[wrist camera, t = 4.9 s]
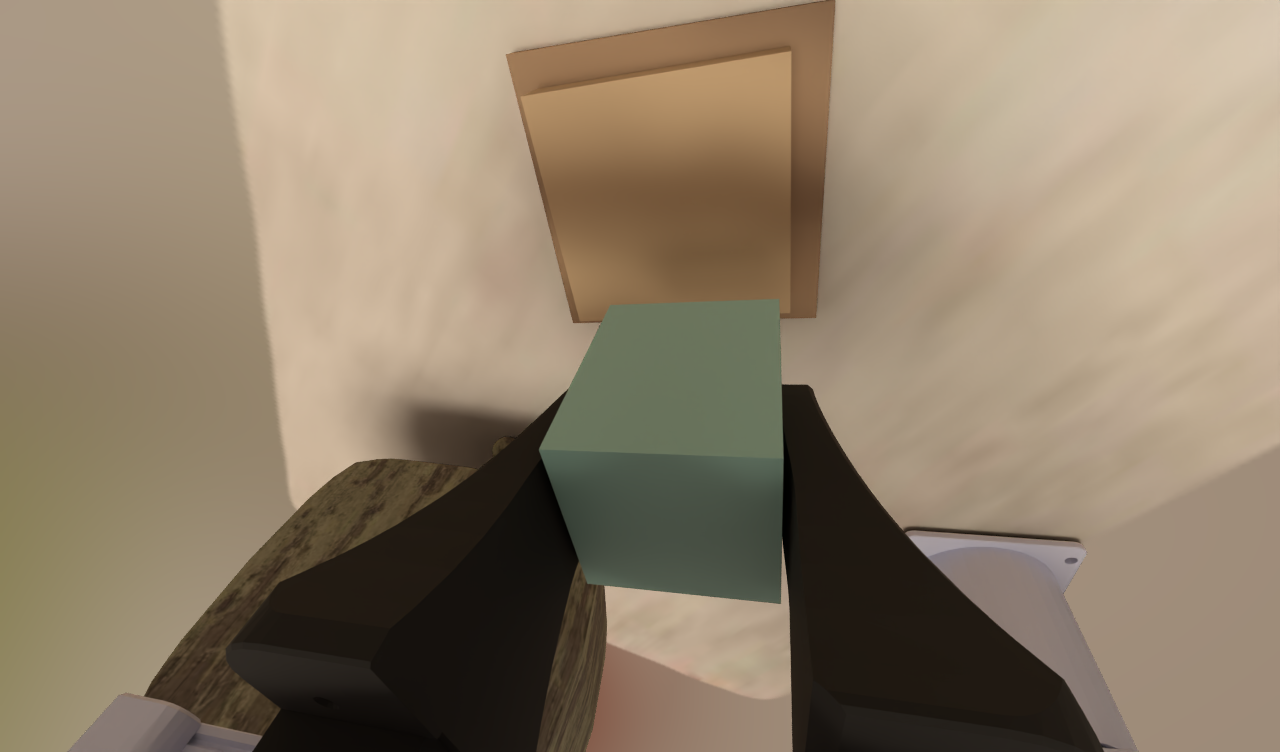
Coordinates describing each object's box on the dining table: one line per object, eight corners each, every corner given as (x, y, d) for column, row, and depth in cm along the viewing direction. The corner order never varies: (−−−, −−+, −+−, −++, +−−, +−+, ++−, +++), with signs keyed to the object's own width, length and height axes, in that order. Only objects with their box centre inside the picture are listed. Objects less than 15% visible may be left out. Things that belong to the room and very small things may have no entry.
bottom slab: (813, 299, 21) (816, 317, 20) (583, 306, 24) (573, 322, 22) (830, -2, 15) (835, 0, 14) (523, 49, 18) (506, 54, 17)
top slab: (789, 293, 20) (790, 313, 18) (590, 303, 22) (579, 321, 20) (790, 46, 15) (791, 51, 14) (537, 88, 17) (520, 96, 16)
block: (778, 429, 14) (780, 604, 10) (635, 426, 15) (587, 583, 11) (779, 298, 12) (783, 459, 8) (610, 304, 13) (539, 449, 9)
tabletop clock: (424, 496, 34) (-41, 1182, 15) (384, 389, 29) (-451, 1260, 9) (639, 533, 32) (429, 1406, 12) (640, 425, 26) (261, 1691, 7)
